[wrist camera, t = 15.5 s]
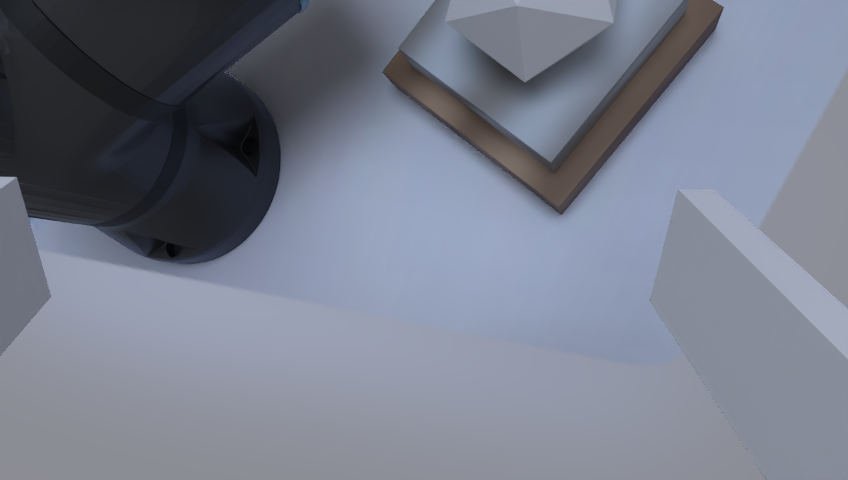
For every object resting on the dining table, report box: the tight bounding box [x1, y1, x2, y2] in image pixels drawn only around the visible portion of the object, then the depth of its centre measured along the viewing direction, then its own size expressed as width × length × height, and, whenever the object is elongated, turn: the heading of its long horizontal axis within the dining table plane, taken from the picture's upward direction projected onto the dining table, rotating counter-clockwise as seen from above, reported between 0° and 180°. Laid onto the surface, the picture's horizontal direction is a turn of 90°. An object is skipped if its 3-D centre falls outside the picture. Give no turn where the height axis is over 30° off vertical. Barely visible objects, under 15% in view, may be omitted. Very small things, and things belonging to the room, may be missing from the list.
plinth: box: [383, 0, 724, 214], centre depth 40 cm, size 15×15×6 cm
